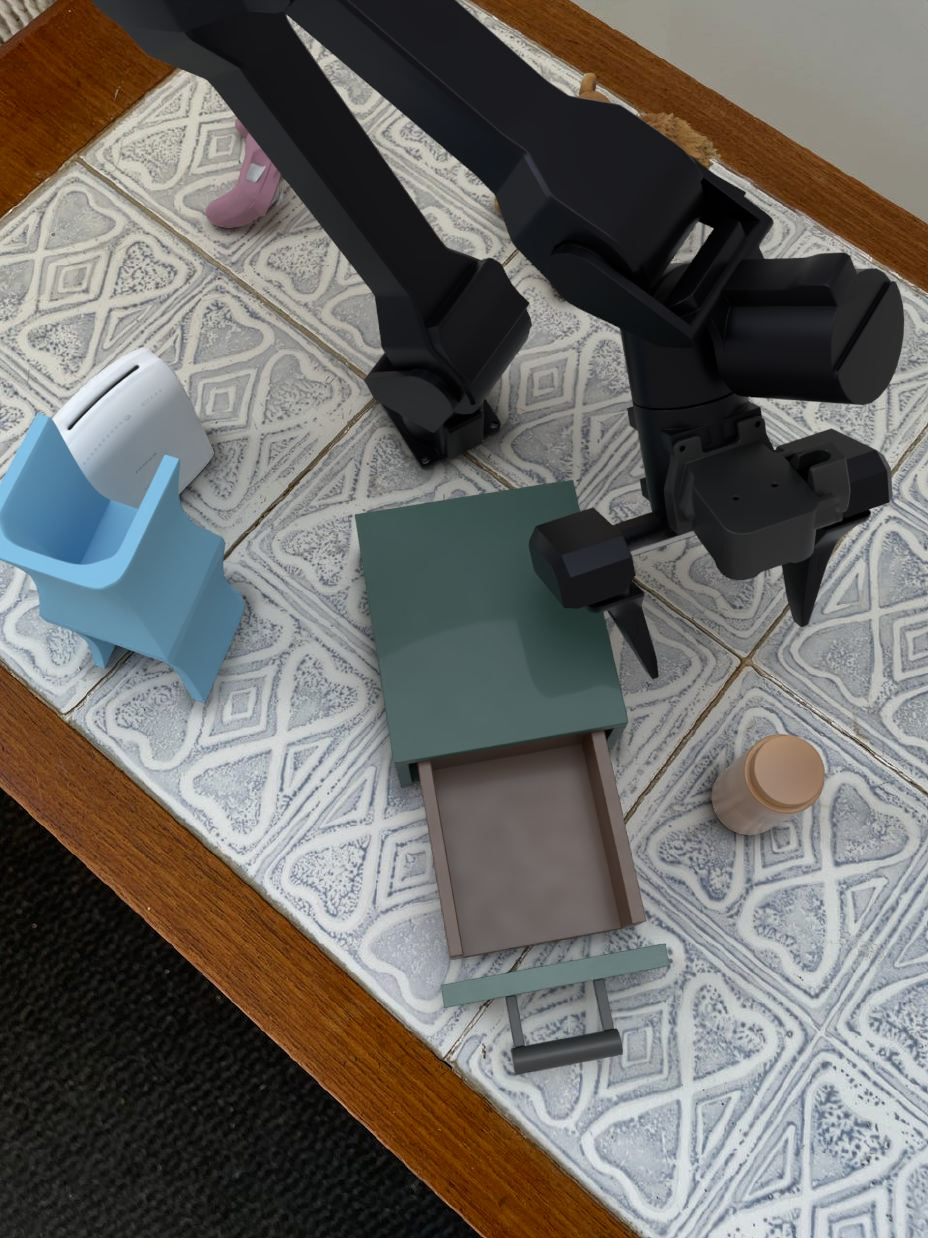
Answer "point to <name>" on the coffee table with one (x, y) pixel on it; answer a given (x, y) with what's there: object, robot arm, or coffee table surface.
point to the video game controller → (248, 188)
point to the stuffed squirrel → (660, 128)
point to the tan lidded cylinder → (768, 784)
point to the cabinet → (480, 630)
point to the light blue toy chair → (118, 562)
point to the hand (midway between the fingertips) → (727, 649)
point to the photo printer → (133, 427)
